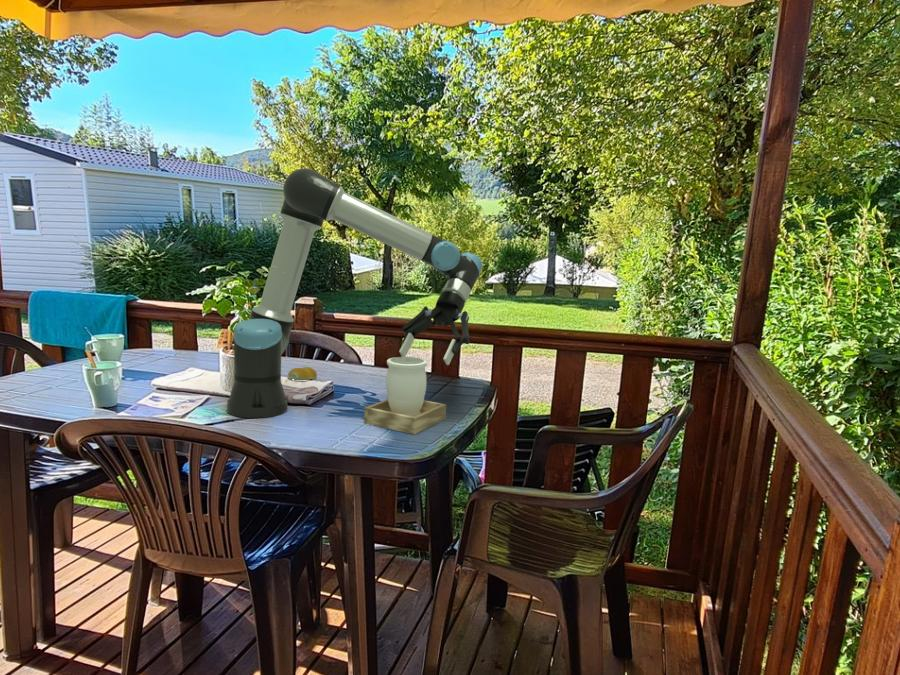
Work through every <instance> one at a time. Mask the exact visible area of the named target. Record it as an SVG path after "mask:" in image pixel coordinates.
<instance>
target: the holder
mask: <svg viewBox="0 0 900 675" xmlns="http://www.w3.org/2000/svg"><path fill="white" fill-rule="evenodd" d="M363 410H364V414H363V423H364V424H367V425H371V426H376V427H380V428H385V429H388V430H393V431H396V432H397V431H398V432H401V433H406V434H410V435H414V436H415V435H417V434H418V433H421V432H423V431H425V430H427V429H429V428H431V427H433V426H434V425H436V424H439V423H441V422H443V421H445V420H446V418H447V417H446V415H447V404H445V403H440V402H436V401H430V400H425V399H424V402H423V405H422V408H421V410H420V413H421V414H420V415H417V416H415V417H411V416H407V415H402V414H397V413H393V412H391V409H390V406H389V403H388V398H387V399H385V400H382V401H379V402H377V403H374V404H373V403H372V404H371V405H368V406H365V407H364V408H363Z"/></svg>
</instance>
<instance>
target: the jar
mask: <svg viewBox="0 0 900 675" xmlns="http://www.w3.org/2000/svg"><path fill="white" fill-rule="evenodd" d="M386 364H387V366H388V369H387V372H386V379H385V389H386V395H387V399H388V403H389V406H390V409H391V412H393V413H397V414H402V415H407V416H411V417H415V416H417V415H420V414H421V413H420V410H421V408H422V405H423V402H424V400H425V396H426V391H427V382H428V381H427V372H426V367H427V365H428V360H426V359H424V358H420V357H415V356H405V357H402V356H398V357H391V358H390V357H389V358H388V359H387V360H386Z"/></svg>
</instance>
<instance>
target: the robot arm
mask: <svg viewBox="0 0 900 675" xmlns="http://www.w3.org/2000/svg"><path fill="white" fill-rule="evenodd" d="M282 188H283V191H282V192H283V193H282V194H283V197H284V199H283V202H282V206H281V210H280V213H279V215H280V217H281V219H282V221H283V223H282V227H281V231H280V234H279V237H278V240H277V243H276V247H275V249H274V250H275V251H274V254H273V258H272V261H271V265H270V267H271V268H269V271H268V275H267V278H266V282H265V284H264V288H263V292H262V296H261V297H260V298H261V299H260V302H259V304H258V305H256V306H254V307H252V309H251V312H250V315H249V319H246V320H240V321H239V322H237V323H236V324H235V326H234V332H233V353H234V354H233V369H234V370H233V375H234V376H233V385H232V386H231V387H232V388H231V390H230V395H229V399H227V402H226V412H227V413H228V414H229V415H230V416H231V415H232V416H233V417H239V418H248V419H249V418H250V419H254V418H255V419H258V418H269V417H274V416H279V415H283V414H284V413H285V412H287V411H288V399H287V397H286V396H285V395H286V394H285V390H284V387H283V384H282V383H283V382H282V379H281V378H282V354H283V353H284V352H285V351H286V350H287V348H288V346H289V343H290V337H291V336H290V334H291V332H292V329H293V328H292V327H293V326H294V320H295V319H294V317H293V315H292V314H291V312H292V309H293V305H294V302H295V299H296V295H297V292H298V289H299V286H300V282H301V278H302V275H303V272H304V268H305V265H306V262H307V258H308V255H309V252H310V248H311V245H312V242H313V238H314V235H315V232H317V231H318V230H320V229H322V228H323V224H324V221H326V222H328V221H331V220H333V221H336V222H338V223H339V224H341V225H344V226H346V227H348V228H351V229H353V230H354V231H357V232H359V233H361V234H363V235H365V236H367V237H370V238H371V239H374V240H376V241H378V242H381V243H383V244H385V245H387V246H388V247H392V248H393V249H395V250H398V251H400V252H402V253H404V254H406V255H408V256H411V257H412V258H415V259H417V260H419V261H421V262H423V263H425V264H427V265H428V266H430V267H431V268H434V269H435V270H436V271H438V272H439V273H441V274H442V275H443V276H445V277H447V278H448V279H447V280H446V283H445V284H444V287H443V288H442V290H441V293H440V295H439V296H438V298H437V299H436V302H435V307H433V309H431V308H428V306H423V307H422V309H421V311H420V312H418V314H417V315H415V316H414V317H413V318H412V319H411V320H409V321H408V322H407V323H406V324H405V325H403V326H402V327H401V330H402V332H403V334H404V337H403V339H401V340H402V341H401V344H402V345H401V347H400V348H399V350H398V352H399V354H400V357H407V354H408V352H409V350H410V349H411V346H412V345H413V343H414V341H415V337H416V336H417V335H420V334H421V333H423V332H424V331H425V330H428V329H429V328H430V327H435V326H439V327H440V326H443V327H446V328H447V327H448V326H450V328H451V330H452V331H451V332H452V333H453V335H454V338H455V339H454V338H452V339H451V341H450V343H449V345H448V348H447V350H446V352H445V354H444V356H443V361H444V363H445V364H446V366H450V363H451V361H452V359H453V357H454V355H457V354H458V352H459V350H460V348H461V346H462V345H463V344H466V345H469V344H470V333H469V320H470V316H469V314H468V312H467V310H464V311H463V309H464V308H465V304H466V303H467V302H468V299H469V297H470V295H471V292H472V290H473V288H474V286H475V285H476V282H477V281H478V279H479V277H480V273H481V271H482V269H483V262H482V260H481V258H480V257H479V256H478V255H476V254H475V253H471V252H463V253H460V250H459V247H458V246H456V244H455V243H453V242H451V241H449V240H445V239H444V238H443V239H442V238H440V237H438V236H436V235H434V234H433V233H430V232H428V231H426V230H424V229H422V228H421V227H418V226H416V225H413V224H411V223H409V222H407V221H406V220H404V219H401V218H398V217H397V216H395V215H394V214H392V213H391V214H390V213H389V212H386V211H384V210H382V209H380V208H378V207H376V206H374V205H372V204H370V203H368V202H365V201H363V200H362V199H359V198H357V197H356V196H353V195H351V194H349V193H347V192H345V191H344V188H343V186H342V185H340V184H337V183H336V182H334V181H332V180H330V179H329V178H327V177H325V176H324V175H323V174H322V173H320V172H319V171H317V170H314V169H312V168H305V167H302V168H297V169H296V170H294V171H292V172H290V173H289V175H288V176H286V179H285V181H284V184H283V187H282ZM272 266H276V267H272ZM277 267H279V268H277ZM284 272H285V273H284ZM462 311H463V312H462ZM459 319H460V323H461V332H462V333H461V334H462V336H460V333H459V331H458V329H457V326H456V325H455V322H456V321H458V320H459Z"/></svg>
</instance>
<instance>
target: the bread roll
mask: <svg viewBox="0 0 900 675" xmlns="http://www.w3.org/2000/svg"><path fill="white" fill-rule="evenodd" d="M317 376H318V374H317V371H316V370H315V369H314V368H312V367H308V366H306V367H294V368H292V369H291V370H290V371H289V372H288V373H287V378H288V379H289V380H290V379H294V380H309V381H311V380H310V379H314V380H316V379H317Z"/></svg>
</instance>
